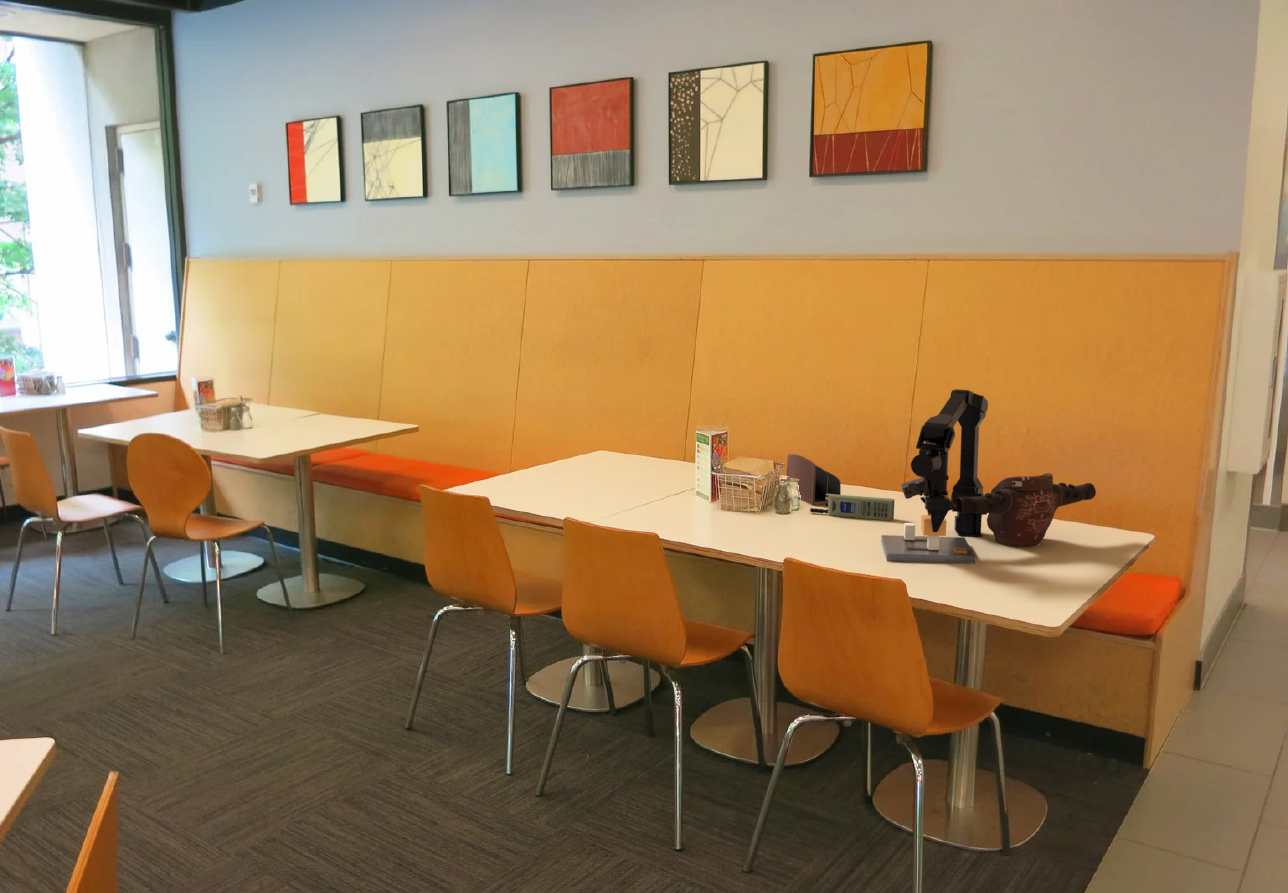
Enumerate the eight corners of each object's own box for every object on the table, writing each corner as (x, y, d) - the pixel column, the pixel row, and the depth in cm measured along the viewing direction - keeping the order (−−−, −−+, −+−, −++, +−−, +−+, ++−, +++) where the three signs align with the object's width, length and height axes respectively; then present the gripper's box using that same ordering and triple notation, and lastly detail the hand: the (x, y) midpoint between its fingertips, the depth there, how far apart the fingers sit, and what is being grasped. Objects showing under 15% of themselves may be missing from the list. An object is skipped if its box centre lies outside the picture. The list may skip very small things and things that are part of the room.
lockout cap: (942, 530, 275) (943, 515, 274) (945, 535, 269) (946, 520, 269) (920, 529, 276) (921, 514, 275) (923, 535, 270) (924, 520, 269)
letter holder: (812, 506, 330) (813, 462, 328) (785, 493, 349) (785, 451, 346) (841, 503, 333) (842, 460, 331) (812, 490, 352) (813, 449, 349)
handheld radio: (892, 522, 310) (808, 515, 319) (894, 520, 313) (811, 513, 322) (893, 500, 309) (809, 493, 318) (895, 498, 312) (811, 491, 321)
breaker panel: (964, 544, 285) (964, 536, 284) (975, 563, 267) (975, 555, 267) (881, 542, 288) (881, 534, 288) (886, 560, 270) (887, 552, 270)
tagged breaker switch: (937, 547, 274) (938, 532, 274) (938, 550, 272) (939, 535, 271) (927, 546, 275) (927, 532, 274) (928, 549, 272) (928, 534, 271)
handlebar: (1071, 530, 299) (1075, 461, 295) (1105, 541, 287) (1110, 469, 284) (940, 546, 283) (943, 474, 279) (970, 559, 271) (974, 483, 268)
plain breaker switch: (913, 537, 284) (914, 523, 283) (914, 540, 281) (915, 525, 281) (903, 537, 284) (904, 522, 283) (904, 539, 282) (905, 525, 281)
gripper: (900, 462, 280) (898, 519, 283) (907, 477, 262) (905, 537, 264) (943, 463, 278) (940, 520, 281) (953, 478, 260) (951, 539, 263)
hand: (933, 529), depth 272 cm, fingers closed on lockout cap, 6 cm apart
